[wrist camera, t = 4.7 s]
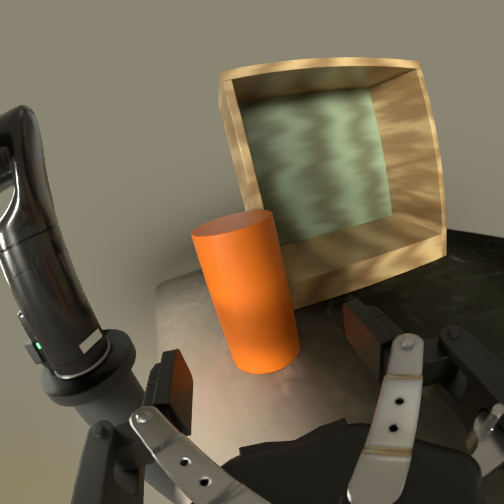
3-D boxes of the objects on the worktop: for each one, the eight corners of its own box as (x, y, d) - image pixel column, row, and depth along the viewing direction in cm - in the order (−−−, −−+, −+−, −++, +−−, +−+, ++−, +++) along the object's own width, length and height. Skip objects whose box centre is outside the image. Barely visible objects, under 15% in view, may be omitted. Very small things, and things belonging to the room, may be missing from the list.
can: (236, 381, 20) (187, 243, 16) (231, 340, 25) (194, 224, 21) (308, 361, 20) (280, 218, 16) (291, 324, 25) (264, 205, 22)
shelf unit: (279, 314, 27) (219, 71, 20) (260, 271, 39) (217, 101, 31) (446, 255, 28) (418, 61, 21) (395, 232, 40) (368, 82, 32)
